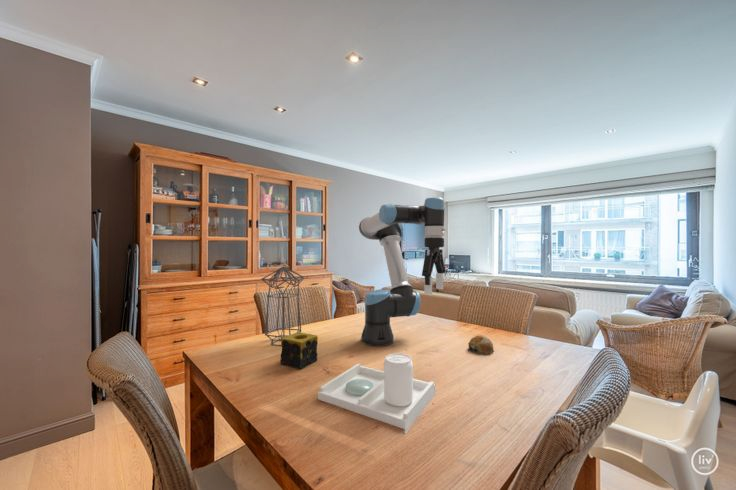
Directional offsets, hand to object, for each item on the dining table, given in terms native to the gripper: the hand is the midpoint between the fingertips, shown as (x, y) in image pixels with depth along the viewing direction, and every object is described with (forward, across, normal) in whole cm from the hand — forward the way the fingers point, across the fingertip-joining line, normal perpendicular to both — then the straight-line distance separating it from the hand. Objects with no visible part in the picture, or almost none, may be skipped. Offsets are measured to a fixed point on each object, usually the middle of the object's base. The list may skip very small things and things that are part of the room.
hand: (434, 291), depth 119 cm
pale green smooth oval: (+26, -38, +10) cm, 47 cm away
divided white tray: (+27, -38, +4) cm, 47 cm away
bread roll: (+27, +20, -14) cm, 36 cm away
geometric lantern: (+27, -16, +66) cm, 73 cm away
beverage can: (+26, -38, -2) cm, 46 cm away
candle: (+27, -30, +43) cm, 59 cm away
